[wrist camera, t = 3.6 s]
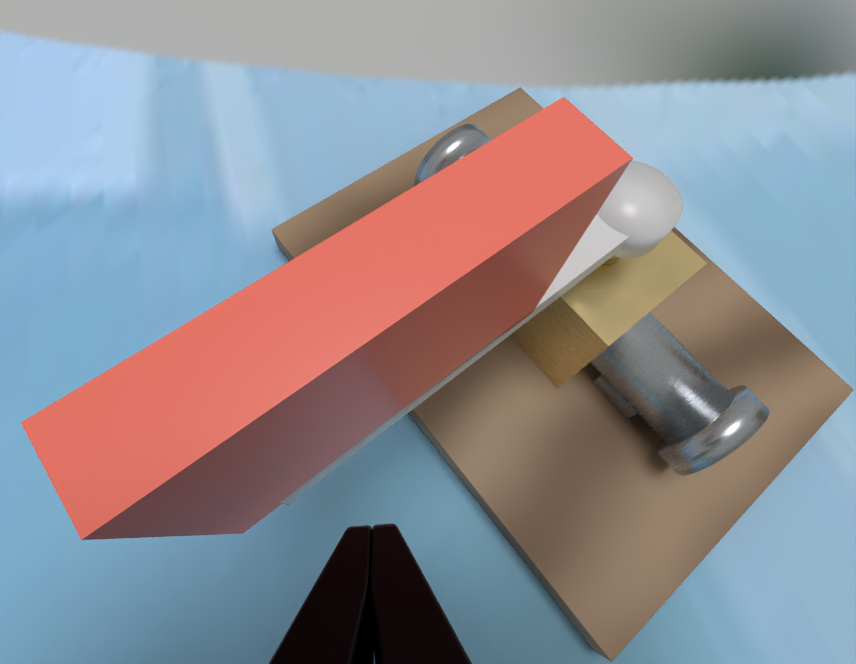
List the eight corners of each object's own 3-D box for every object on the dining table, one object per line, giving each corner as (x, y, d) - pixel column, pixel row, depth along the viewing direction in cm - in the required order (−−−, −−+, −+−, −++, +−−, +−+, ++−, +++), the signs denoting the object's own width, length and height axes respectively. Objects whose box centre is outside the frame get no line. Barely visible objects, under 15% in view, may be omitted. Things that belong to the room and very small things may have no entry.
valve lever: (617, 172, 16) (756, -49, 10) (679, 228, 16) (871, 28, 9) (206, 458, 12) (0, 383, 6) (266, 554, 11) (106, 588, 5)
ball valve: (727, 410, 20) (863, 363, 15) (648, 490, 19) (763, 473, 13) (483, 166, 25) (511, 52, 19) (402, 216, 23) (405, 109, 17)
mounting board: (825, 398, 23) (853, 389, 21) (594, 651, 18) (611, 661, 17) (514, 108, 28) (520, 87, 27) (278, 247, 24) (271, 229, 22)
